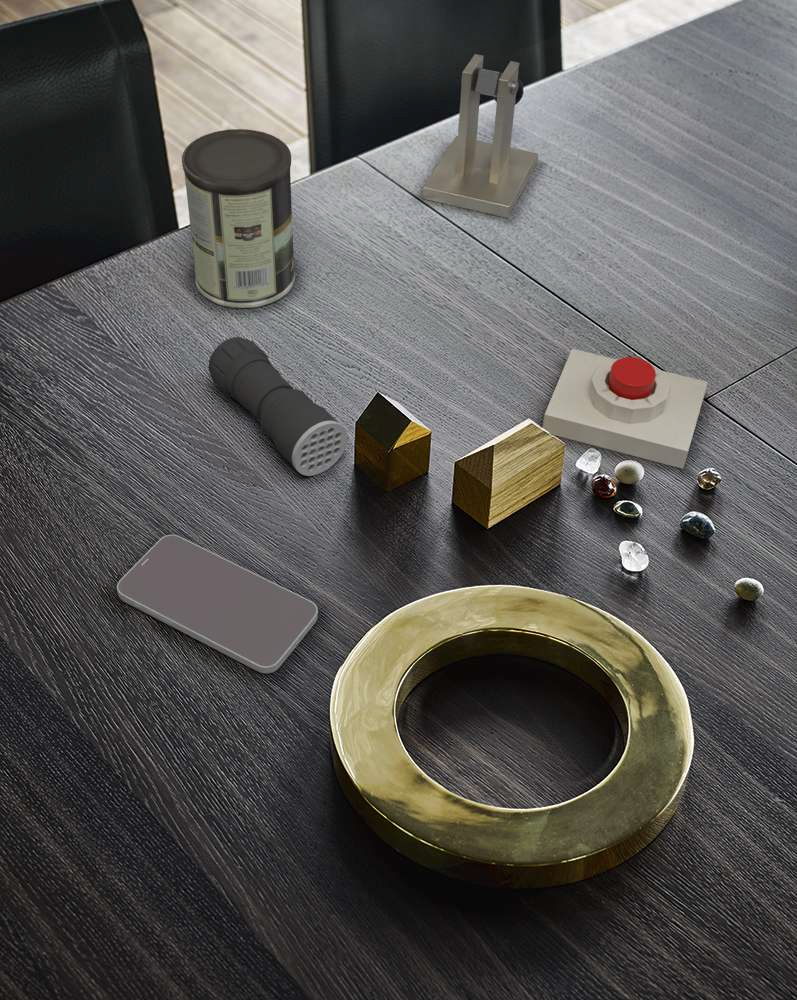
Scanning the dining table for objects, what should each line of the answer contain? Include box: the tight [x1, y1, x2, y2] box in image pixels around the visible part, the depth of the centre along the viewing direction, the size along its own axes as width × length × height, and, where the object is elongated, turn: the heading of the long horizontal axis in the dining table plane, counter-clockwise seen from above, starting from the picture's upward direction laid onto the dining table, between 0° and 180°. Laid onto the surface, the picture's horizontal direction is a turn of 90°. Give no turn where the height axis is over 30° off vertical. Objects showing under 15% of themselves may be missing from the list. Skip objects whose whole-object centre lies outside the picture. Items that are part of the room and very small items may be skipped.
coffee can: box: [181, 128, 296, 309], centre depth 123 cm, size 10×10×14 cm
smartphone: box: [116, 534, 319, 674], centre depth 98 cm, size 7×1×15 cm
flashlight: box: [208, 336, 348, 477], centre depth 111 cm, size 15×5×5 cm, turn 37°
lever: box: [475, 68, 525, 106], centre depth 139 cm, size 13×4×4 cm, turn 161°
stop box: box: [542, 348, 709, 470], centre depth 114 cm, size 13×10×4 cm
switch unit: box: [422, 53, 539, 219], centre depth 138 cm, size 12×10×14 cm
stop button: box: [608, 356, 656, 400], centre depth 112 cm, size 4×4×2 cm
